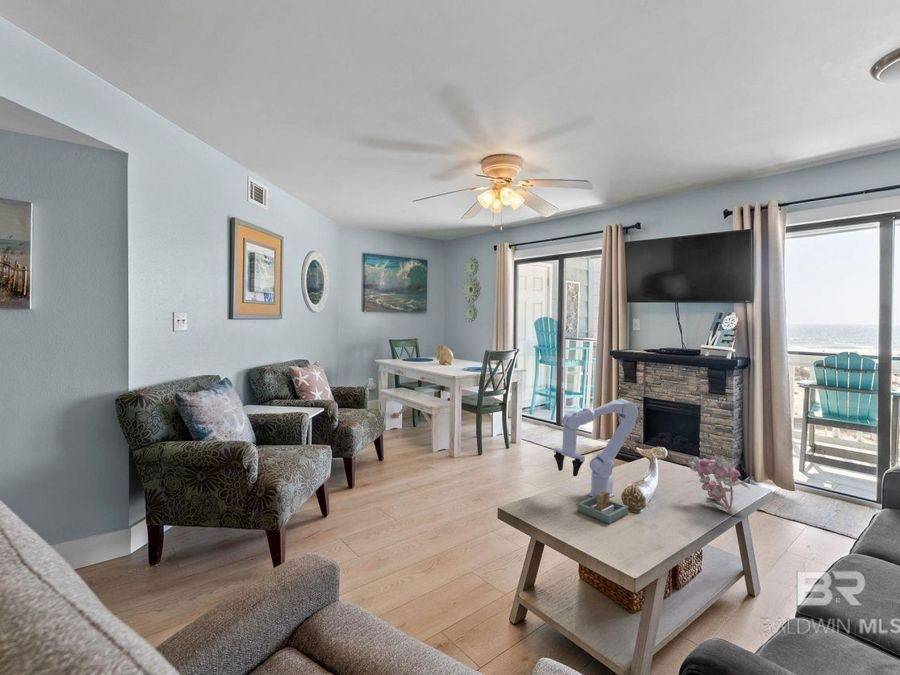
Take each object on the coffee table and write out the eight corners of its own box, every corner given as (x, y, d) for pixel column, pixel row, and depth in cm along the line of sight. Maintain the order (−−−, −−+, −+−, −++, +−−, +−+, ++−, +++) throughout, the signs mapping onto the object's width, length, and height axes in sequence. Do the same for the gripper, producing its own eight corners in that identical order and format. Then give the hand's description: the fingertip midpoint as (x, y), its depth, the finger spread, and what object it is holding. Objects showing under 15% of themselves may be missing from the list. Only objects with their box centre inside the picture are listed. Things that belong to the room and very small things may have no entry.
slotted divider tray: (596, 502, 186) (596, 494, 186) (627, 514, 176) (628, 506, 175) (577, 511, 177) (577, 503, 177) (609, 524, 167) (609, 516, 166)
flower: (769, 509, 179) (746, 449, 188) (743, 516, 167) (720, 451, 176) (721, 513, 194) (702, 456, 203) (694, 519, 182) (675, 459, 191)
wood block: (604, 508, 179) (605, 490, 179) (609, 510, 178) (609, 492, 177) (596, 512, 175) (597, 494, 175) (600, 514, 174) (601, 495, 173)
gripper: (550, 439, 193) (548, 469, 194) (578, 448, 182) (576, 480, 183) (559, 437, 198) (558, 466, 198) (588, 445, 187) (586, 476, 187)
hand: (567, 473), depth 191 cm, fingers open, 7 cm apart
